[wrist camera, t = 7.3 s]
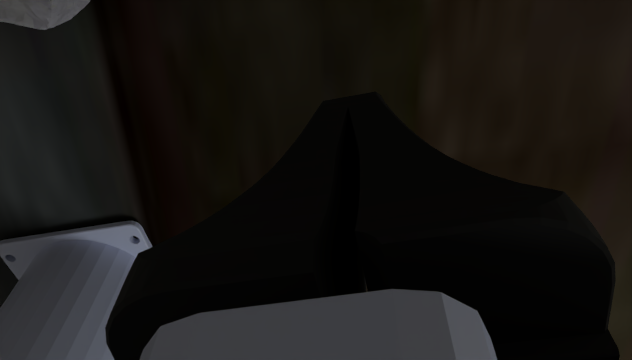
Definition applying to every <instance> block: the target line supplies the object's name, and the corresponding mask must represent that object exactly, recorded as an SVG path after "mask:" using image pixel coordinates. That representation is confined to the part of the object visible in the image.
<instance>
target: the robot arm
mask: <svg viewBox="0 0 632 360" xmlns="http://www.w3.org/2000/svg"><path fill="white" fill-rule="evenodd" d="M133 236H136V237H138V238H139V239H136V238H134V237H133ZM0 256H1V258H2V259H3V260H4V262H5V263H6V264H7V266H8V267H9V268H10V270H11V271H12V272H13V274H14V275H15V276H16V277H17V279H18V280H19V281H18V282H17V284H16V285H15V287H14V288H13V290H12V291H11V293H10V294H9V296H8V297H7V299H6V300H5V302H4V303H3V305H2V306H1V307H0V360H619V356H620V355H619V350H618V347H617V345H616V344H615V342H614V340H613V338H612V336H611V334H610V332H609V330H608V323H609V317H610V311H611V305H612V299H613V293H614V287H615V262H614V260H613V258H612V256H611V254H610V252H609V250H608V248H607V246H606V244H605V242H604V241H603V239H602V238H601V236H600V235H599V233H598V232H597V230H596V229H595V227H594V226H593V225H592V223H591V222H590V221H589V220H588V219H587V217H586V216H585V215H584V214H583V212H582V211H581V210H580V209H579V208H578V207H577V206H576V205H575V204H574V202H573V201H572V200H571V199H570V198H569V197H568V196H567V194H566V193H565V192H563V191H558V190H553V189H548V188H542V187H537V186H532V185H527V184H522V183H518V182H514V181H511V180H507V179H504V178H500V177H497V176H494V175H491V174H488V173H485V172H482V171H479V170H477V169H475V168H472V167H470V166H468V165H465V164H463V163H461V162H458V161H456V160H454V159H452V158H450V157H448V156H447V155H445V154H443V153H442V152H440V151H438V150H437V149H435V148H433V147H432V146H430V145H429V144H428V143H426V142H425V141H424V140H422V139H421V138H420V137H419V136H417V135H416V134H415V133H414V132H413V131H411V130H410V129H409V128H408V127H407V126H406V125H405V124H404V123H403V122H402V121H401V120H400V119H399V118H398V117H397V116H396V115H395V114H394V113H393V112H392V111H391V109H390V108H389V107H388V106H387V104H386V103H385V102H384V100H383V99H382V97H381V95H380V94H378V93H377V92H371V93H366V94H360V95H355V96H349V97H343V98H338V99H332V100H327V101H323V102H322V103H321V105H320V106H319V108H318V109H317V110H316V112H315V114H314V115H313V117H312V118H311V120H310V121H309V123H308V124H307V126H306V127H305V129H304V130H303V131H302V133H301V134H300V135H299V137H298V138H297V140H296V141H295V142H294V144H293V145H292V146H291V147H290V148H289V150H288V151H287V152H286V153H285V154H284V156H283V157H282V158H281V159H280V160H279V161H278V162H277V163H276V165H275V166H274V167H273V168H272V169H271V170H270V171H269V172H268V173H267V174H265V175H264V176H263V177H262V178H261V179H260V180H259V181H258V182H257V183H256V184H254V185H253V186H252V187H251V188H250V189H248V190H247V191H246V192H244V193H243V194H242V195H240V196H239V197H238V198H236V199H235V200H234V201H232V202H231V203H230V204H228V205H227V206H226V207H224V208H223V209H221V210H220V211H218V212H217V213H215V214H213V215H212V216H210V217H209V218H207V219H205V220H204V221H202V222H200V223H199V224H197V225H195V226H193V227H192V228H190V229H188V230H186V231H184V232H182V233H180V234H178V235H176V236H174V237H172V238H170V239H168V240H166V241H164V242H162V243H160V244H157V245H155V246H153V247H152V245H151V243H150V241H149V239H148V237H147V235H146V233H145V232H144V230H143V228H142V226H141V225H140V224H139V223H138V222H135V221H123V222H116V223H110V224H103V225H97V226H90V227H84V228H77V229H71V230H64V231H58V232H51V233H45V234H38V235H32V236H25V237H18V238H12V239H5V240H2V241H0ZM366 284H367V289H368V292H366Z"/></svg>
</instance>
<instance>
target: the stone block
mask: <svg viewBox="0 0 632 360" xmlns="http://www.w3.org/2000/svg"><path fill="white" fill-rule="evenodd" d="M89 2H90V0H0V22H7V23H12V24H16V25H21V26H26V27H31V28H35V29H43V30H46V29H48V28H54V27H55V26H57V25H60V24H62V23H64V22H66V21H68V20H70V19H72V17H73V16H75V15H77V13H78V12H79V11H80V10H82V9H83V8H84V7H85V6H86V5H87V4H88V3H89Z"/></svg>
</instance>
